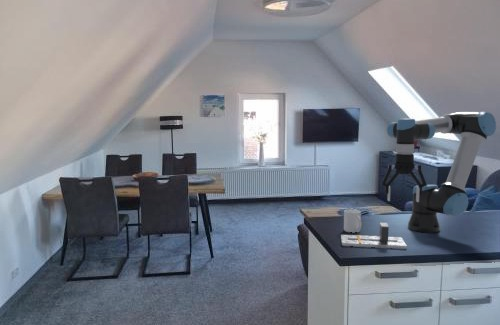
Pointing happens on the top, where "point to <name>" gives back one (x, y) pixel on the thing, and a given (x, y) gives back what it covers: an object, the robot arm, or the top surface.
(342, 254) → the top surface
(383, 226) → the fader tab
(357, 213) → the mug
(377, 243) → the fader console
